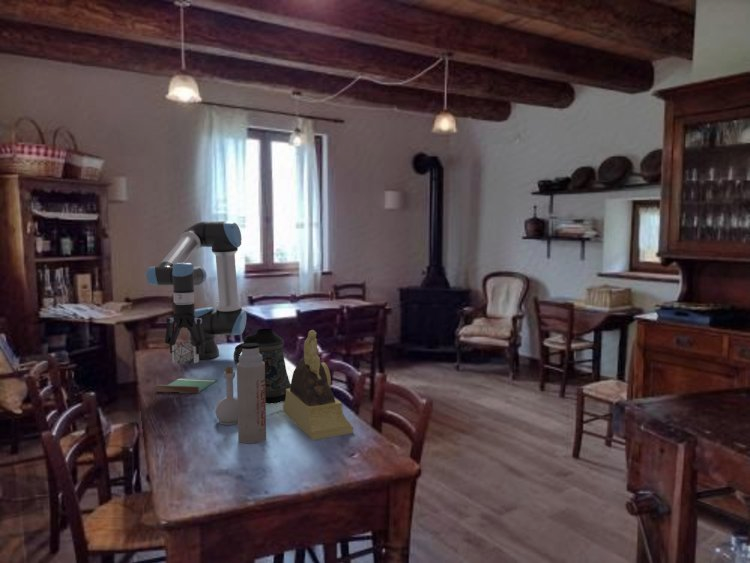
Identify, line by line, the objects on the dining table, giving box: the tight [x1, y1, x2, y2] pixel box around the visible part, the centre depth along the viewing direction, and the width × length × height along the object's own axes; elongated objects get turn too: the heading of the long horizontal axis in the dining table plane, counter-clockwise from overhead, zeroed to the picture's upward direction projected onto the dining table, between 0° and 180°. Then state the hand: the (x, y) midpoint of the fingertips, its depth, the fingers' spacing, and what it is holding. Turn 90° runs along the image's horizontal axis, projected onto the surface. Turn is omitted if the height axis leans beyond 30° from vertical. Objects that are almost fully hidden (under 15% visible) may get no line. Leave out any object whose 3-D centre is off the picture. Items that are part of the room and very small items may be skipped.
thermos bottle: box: [236, 343, 267, 444], centre depth 161 cm, size 8×8×28 cm
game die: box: [172, 341, 194, 364], centre depth 214 cm, size 9×8×10 cm
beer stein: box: [233, 328, 291, 405], centre depth 200 cm, size 16×19×25 cm
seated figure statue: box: [282, 329, 354, 441], centre depth 175 cm, size 28×13×30 cm, turn 27°
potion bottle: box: [214, 366, 238, 426], centre depth 176 cm, size 9×9×18 cm
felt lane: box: [168, 377, 218, 393], centre depth 217 cm, size 17×16×1 cm
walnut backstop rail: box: [156, 384, 200, 395], centre depth 208 cm, size 1×16×2 cm, turn 82°
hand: (185, 361), depth 214 cm, fingers closed on game die, 8 cm apart
